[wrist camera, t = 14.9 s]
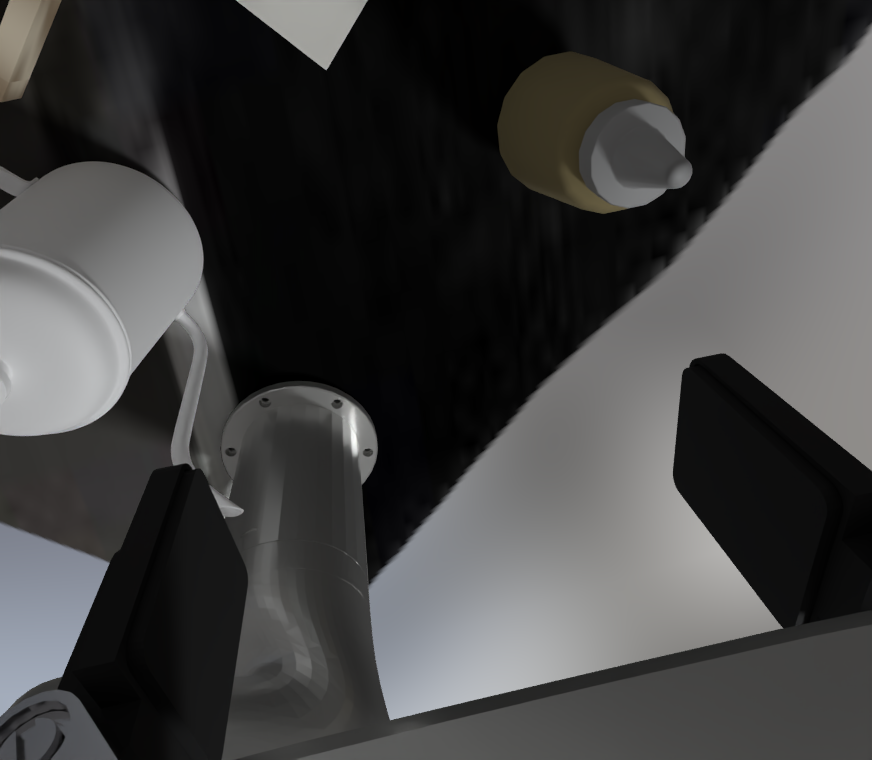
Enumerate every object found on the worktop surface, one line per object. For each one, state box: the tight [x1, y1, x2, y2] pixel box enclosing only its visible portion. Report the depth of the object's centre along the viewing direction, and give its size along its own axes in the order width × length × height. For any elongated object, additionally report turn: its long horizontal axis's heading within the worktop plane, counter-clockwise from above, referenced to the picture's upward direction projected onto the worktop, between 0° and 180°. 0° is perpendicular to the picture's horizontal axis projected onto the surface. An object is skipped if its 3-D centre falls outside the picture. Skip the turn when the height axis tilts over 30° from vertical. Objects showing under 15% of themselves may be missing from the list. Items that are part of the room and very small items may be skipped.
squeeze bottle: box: [497, 51, 692, 214], centre depth 32 cm, size 8×8×18 cm
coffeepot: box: [0, 161, 244, 517], centre depth 31 cm, size 11×25×19 cm, turn 40°
